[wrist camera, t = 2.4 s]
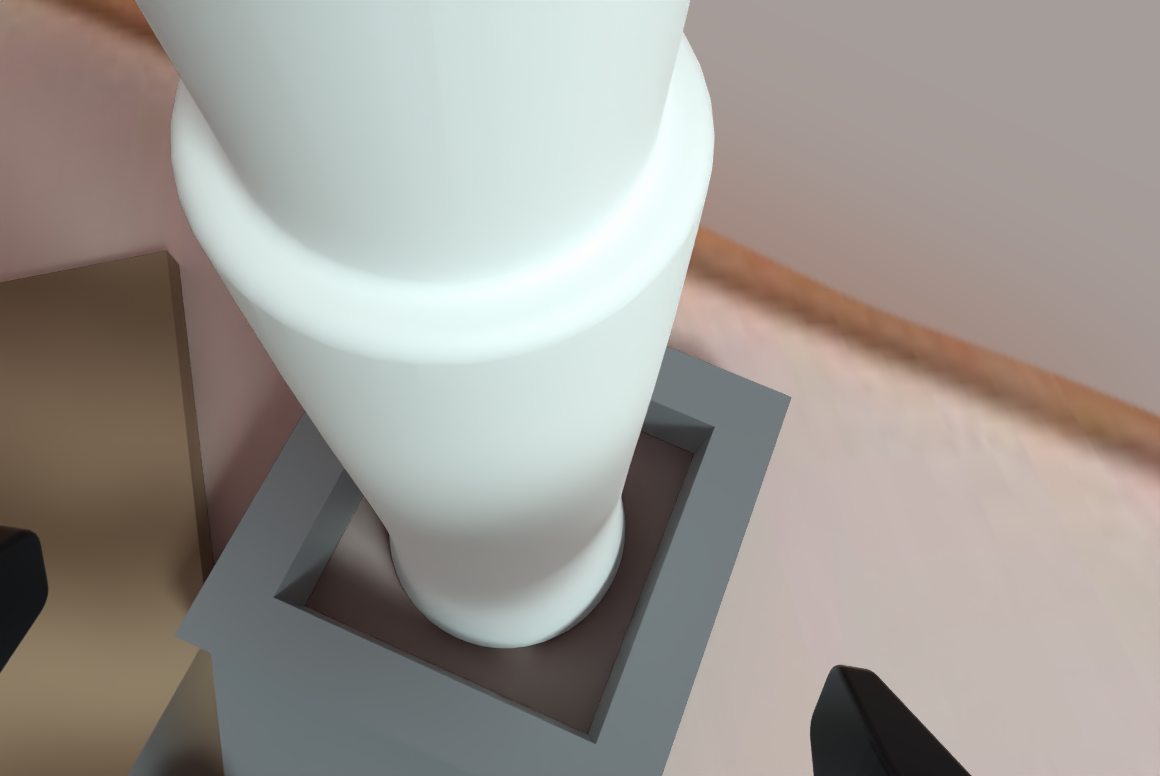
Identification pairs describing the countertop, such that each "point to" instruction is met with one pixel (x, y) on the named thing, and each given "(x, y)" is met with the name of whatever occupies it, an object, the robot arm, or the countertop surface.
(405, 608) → the countertop surface
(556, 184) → the cosmetic bottle
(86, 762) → the walnut pad
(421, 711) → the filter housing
